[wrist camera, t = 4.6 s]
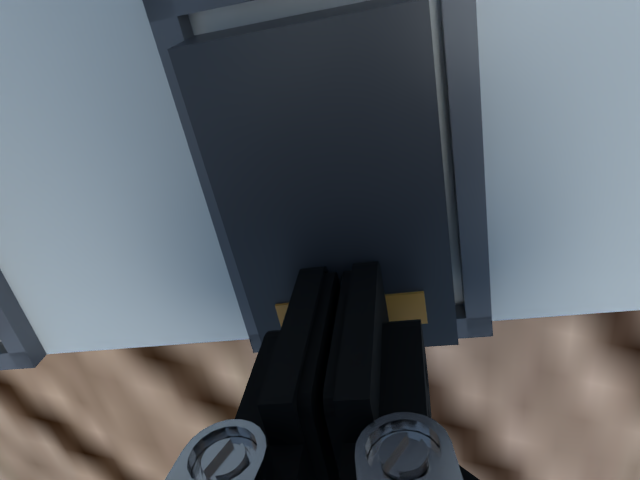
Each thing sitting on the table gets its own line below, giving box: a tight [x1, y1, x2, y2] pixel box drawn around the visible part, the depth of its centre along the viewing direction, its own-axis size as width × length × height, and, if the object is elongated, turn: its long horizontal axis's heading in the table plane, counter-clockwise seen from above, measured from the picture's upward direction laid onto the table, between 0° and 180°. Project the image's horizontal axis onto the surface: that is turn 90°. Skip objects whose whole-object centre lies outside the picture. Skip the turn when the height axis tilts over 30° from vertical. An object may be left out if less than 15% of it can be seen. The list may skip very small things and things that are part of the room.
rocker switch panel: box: [0, 0, 640, 370], centre depth 13 cm, size 14×49×5 cm, turn 101°
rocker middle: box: [167, 0, 459, 347], centre depth 11 cm, size 7×4×2 cm, turn 11°
